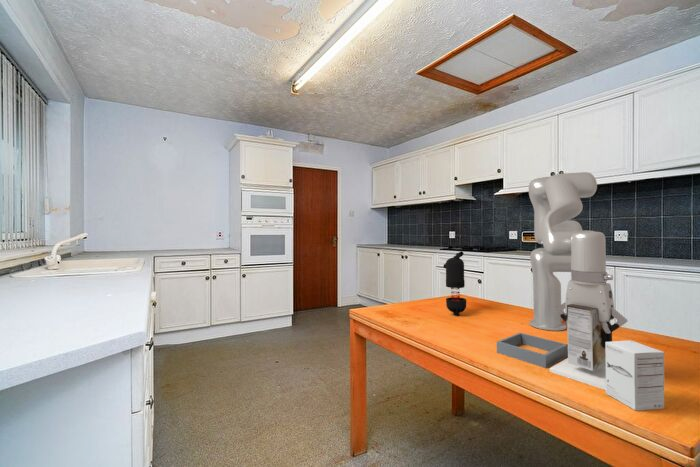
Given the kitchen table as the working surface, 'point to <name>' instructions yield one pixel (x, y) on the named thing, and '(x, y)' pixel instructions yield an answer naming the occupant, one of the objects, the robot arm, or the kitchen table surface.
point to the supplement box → (635, 374)
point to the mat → (581, 374)
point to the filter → (455, 283)
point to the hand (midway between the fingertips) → (589, 342)
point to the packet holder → (543, 360)
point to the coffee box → (585, 337)
